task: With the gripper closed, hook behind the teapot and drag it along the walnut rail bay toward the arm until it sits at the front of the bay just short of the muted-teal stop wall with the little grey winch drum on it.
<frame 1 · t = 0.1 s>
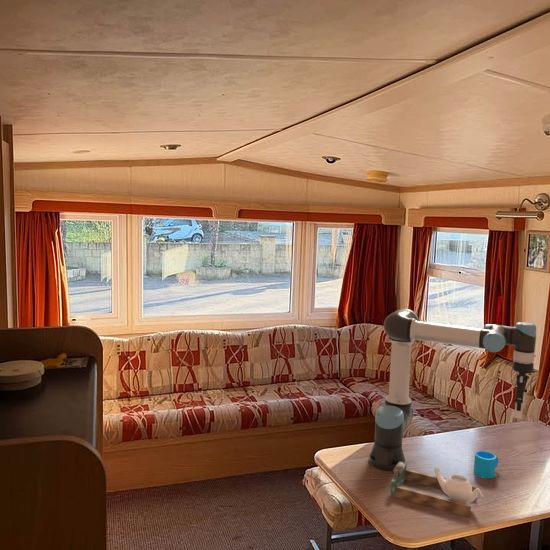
hand: (519, 412, 216), 28 cm above the table, fingers open, 13 cm apart
teapot: (457, 502, 200), on the table
mug: (487, 473, 224), on the table
bay: (435, 496, 203), on the table
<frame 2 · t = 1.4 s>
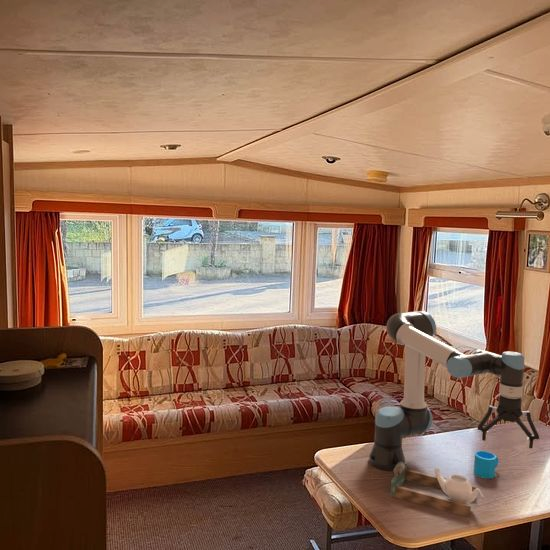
hand: (506, 452, 193), 22 cm above the table, fingers open, 13 cm apart
nothing on the table moved.
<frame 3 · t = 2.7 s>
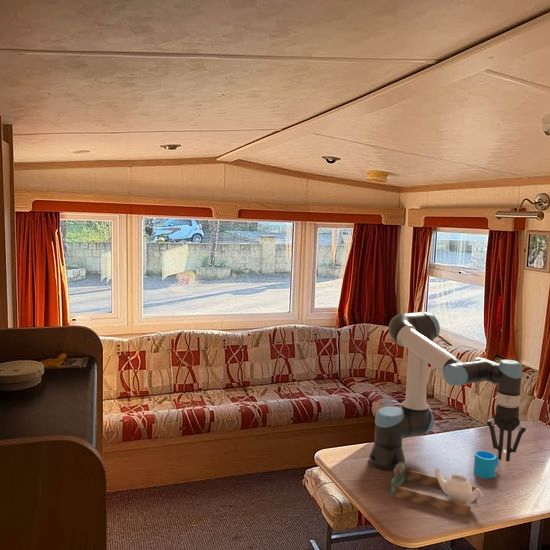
hand: (503, 468, 191), 17 cm above the table, fingers closed
nothing on the table moved.
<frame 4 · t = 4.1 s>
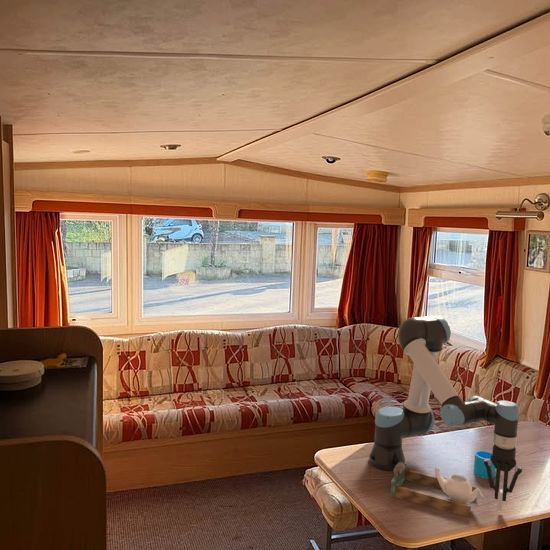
hand: (499, 508, 193), 2 cm above the table, fingers closed
nothing on the table moved.
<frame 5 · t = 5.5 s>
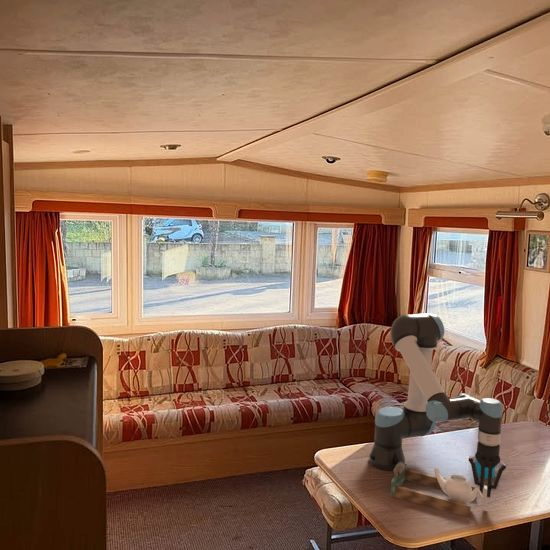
hand: (484, 504, 195), 2 cm above the table, fingers closed
teapot: (457, 502, 200), on the table, touching gripper
everything else where it was.
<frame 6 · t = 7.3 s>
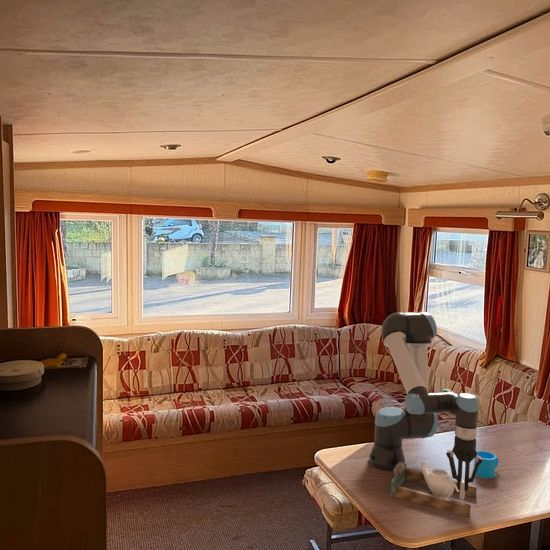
hand: (462, 498, 198), 2 cm above the table, fingers closed
teapot: (438, 496, 204), on the table, touching gripper
everything else where it was.
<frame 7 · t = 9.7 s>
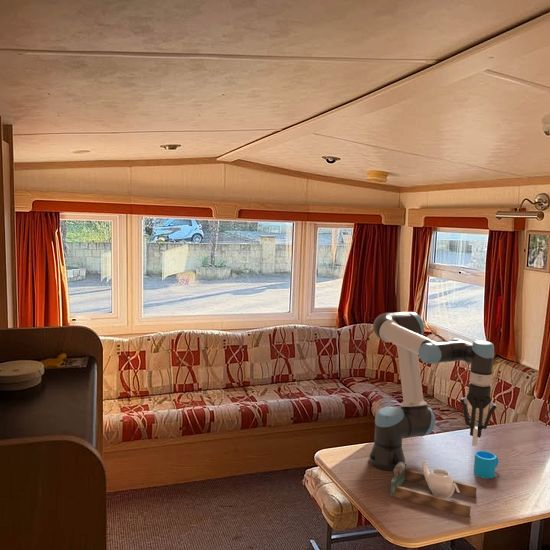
hand: (474, 444, 199), 22 cm above the table, fingers closed
teapot: (438, 496, 204), on the table
everything else where it was.
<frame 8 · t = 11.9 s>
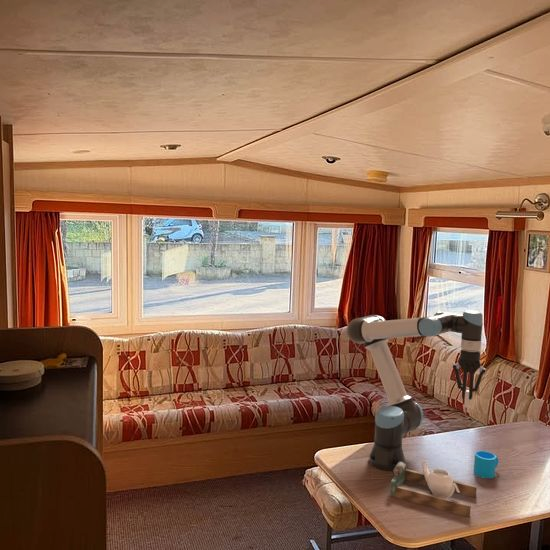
hand: (466, 406, 218), 29 cm above the table, fingers closed
nothing on the table moved.
at the end: teapot inside the target area (3.1 cm from its centre), on the table; teapot moved 7.0 cm from its start; teapot tilted 0° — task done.
